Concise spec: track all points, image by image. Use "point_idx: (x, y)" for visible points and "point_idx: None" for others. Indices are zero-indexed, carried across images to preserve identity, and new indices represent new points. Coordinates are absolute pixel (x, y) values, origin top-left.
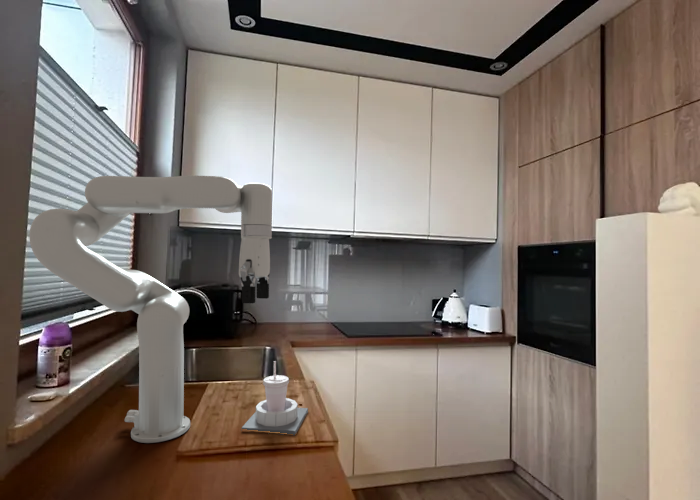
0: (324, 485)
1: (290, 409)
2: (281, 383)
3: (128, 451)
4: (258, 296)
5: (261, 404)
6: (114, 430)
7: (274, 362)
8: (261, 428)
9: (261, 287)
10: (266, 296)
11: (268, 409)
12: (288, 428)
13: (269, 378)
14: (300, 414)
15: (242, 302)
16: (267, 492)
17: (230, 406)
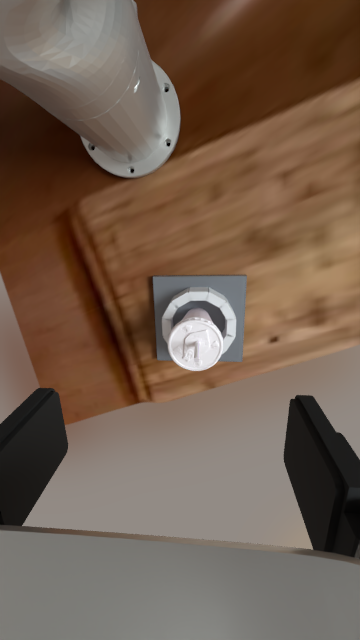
0: (61, 408)
1: None
2: (176, 361)
3: None
4: (291, 413)
5: (198, 299)
6: None
7: (194, 358)
8: (155, 309)
9: (316, 490)
10: (287, 462)
11: (184, 316)
12: (163, 348)
13: (192, 333)
14: None
15: (41, 390)
16: (33, 358)
17: (255, 205)
